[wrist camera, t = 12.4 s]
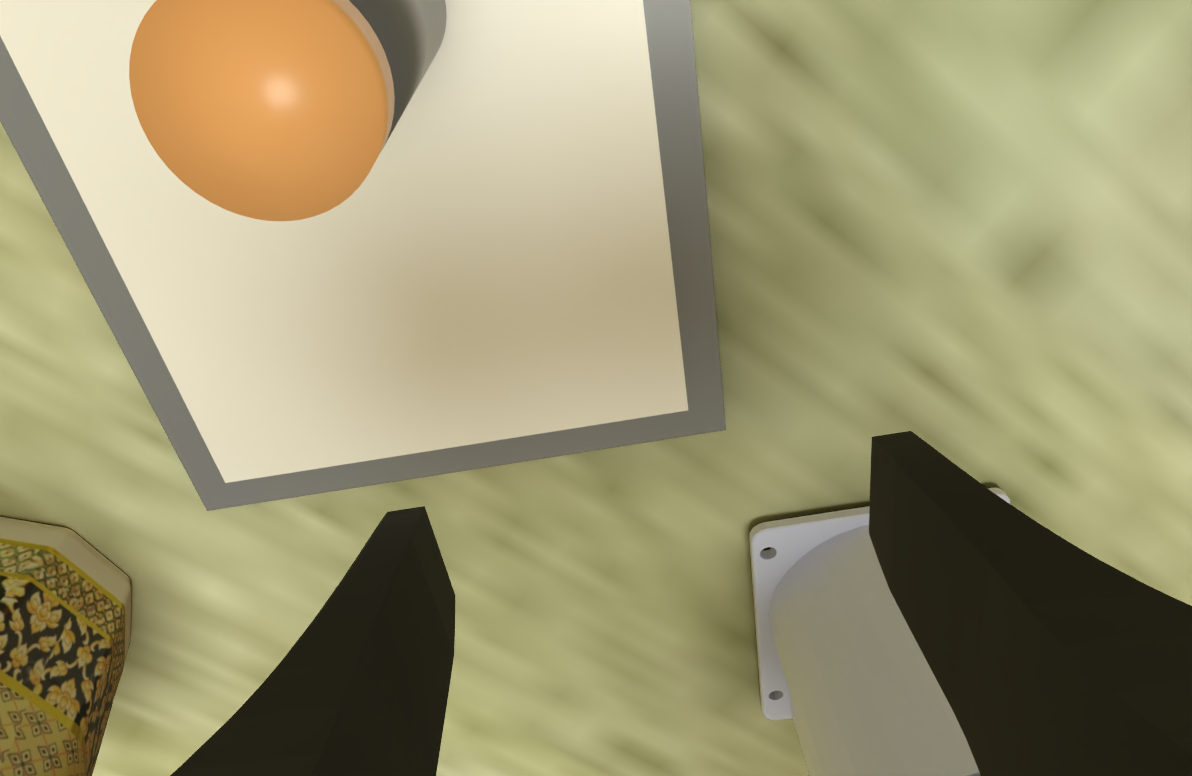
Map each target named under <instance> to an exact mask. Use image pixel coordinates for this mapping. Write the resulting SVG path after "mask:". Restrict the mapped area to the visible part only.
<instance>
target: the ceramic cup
mask: <svg viewBox="0 0 1192 776" xmlns="http://www.w3.org/2000/svg"><path fill="white" fill-rule="evenodd" d="M130 629H131V587H130V579H129V577H128V576H127V575H126V574H125V573H124V572H122V571H121V570H120V569H119V568H117V567H116V566H115V565H114V564H113V563H111V562H110V561H109V560H108V559H107V558H105V557H104V556H103V555H102V554H101V553H99V552H98V551H97V550H96V549H94V548H93V547H92V546H91V545H90V544H88V543H87V542H86V541H85V540H84V539H82V538H81V537H80V536H79V535H78V534H76V533H75V532H74V531H72V530H70V529H68V528H64V527H59V526H53V525H47V524H41V523H35V522H29V521H23V520H17V519H11V518H5V517H0V776H92V773H93V770H94V767H95V764H96V760H97V756H98V753H99V749H100V746H101V742H102V739H103V735H104V732H105V728H106V725H107V721H108V718H109V714H110V711H111V707H112V703H113V699H114V696H115V693H116V690H117V687H118V683H119V680H120V677H121V674H122V671H123V667H124V662H125V659H126V655H127V652H128V648H129V645H130Z"/></svg>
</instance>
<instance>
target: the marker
mask: <svg viewBox="0 0 1192 776" xmlns="http://www.w3.org/2000/svg"><path fill="white" fill-rule="evenodd" d="M446 17H447V16H446V3H445V0H156V1H155V2H154V3H153V5H152V6H151V7H150V9H149V10H148V11H147V13H146V14H145V15H144V17H143V19H142V21H141V23H140V25H139V27H138V29H137V31H136V34H135V37H134V40H133V43H132V49H131V54H130V61H129V80H130V89H131V96H132V100H133V104H134V108H135V111H136V114H137V117H138V119H139V122H140V125H141V127H142V129H143V131H144V133H145V135H146V137H147V139H148V141H149V142H150V144H151V145H152V147H153V148H154V150H155V151H156V153H157V155H158V156H159V157H160V158H161V160H162V161H163V162H164V163H165V165H166V166H167V167H168V168H169V169H170V170H171V171H172V172H173V173H174V174H175V175H176V176H177V177H178V178H179V179H180V180H181V181H182V182H183V183H184V184H185V185H187V186H188V187H189V188H190V189H192V190H193V191H194V192H195V193H197V194H199V195H200V196H202V197H203V198H205V199H206V200H208V201H209V202H211V203H213V204H215V205H217V206H219V207H221V208H223V209H225V210H228V211H231V212H233V213H236V214H238V215H242V216H246V217H250V218H253V219H259V220H266V221H294V220H302V219H306V218H310V217H314V216H317V215H319V214H322V213H325V212H327V211H329V210H331V209H333V208H334V207H336V206H338V205H340V204H341V203H342V202H344V201H345V200H346V199H347V198H349V197H350V196H351V195H352V194H353V193H354V192H355V191H356V190H357V189H358V188H359V187H360V185H361V184H362V183H363V181H364V180H365V178H366V177H367V176H368V174H369V172H370V171H371V169H372V167H373V165H374V163H375V162H376V160H377V158H378V156H379V155H380V153H381V151H382V149H383V148H384V146H385V144H386V142H387V140H388V139H389V137H390V135H391V133H392V132H393V130H394V128H395V126H396V125H397V123H398V121H399V119H400V118H401V116H402V114H403V112H404V110H405V109H406V107H407V105H408V103H409V102H410V100H411V98H412V96H413V95H414V93H415V91H416V89H417V88H418V86H419V84H420V82H421V80H422V79H423V77H424V75H425V73H426V72H427V70H428V68H429V66H430V65H431V63H432V61H433V59H434V57H435V56H436V54H437V52H438V50H439V48H440V46H441V43H442V40H443V37H444V33H445V28H446Z"/></svg>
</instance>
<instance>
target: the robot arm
mask: <svg viewBox="0 0 1192 776" xmlns="http://www.w3.org/2000/svg"><path fill="white" fill-rule="evenodd" d="M749 541H750V555H751V569H752V583H753V597H754V612H755V626H756V640H757V654H758V669H759V683H760V697H761V708H762V712H763V715H764V717H765V718H767V719H769V720H784V719H791V718H793V721H794V724H795V728H796V731H797V734H798V738H799V741H800V745H801V748H802V752H803V755H804V758H805V762H806V765H807V769H808V772H809V776H1192V606H1190V605H1188V604H1186V603H1184V602H1181V601H1179V600H1177V599H1175V598H1173V597H1170V596H1168V595H1166V594H1164V593H1162V592H1160V591H1158V590H1156V589H1154V588H1152V587H1150V586H1148V585H1146V584H1144V583H1142V582H1140V581H1138V580H1136V579H1134V578H1132V577H1130V576H1128V575H1127V574H1125V573H1123V572H1121V571H1119V570H1117V569H1115V568H1113V567H1112V566H1110V565H1108V564H1106V563H1104V562H1102V561H1100V560H1098V559H1097V558H1095V557H1093V556H1091V555H1090V554H1088V553H1086V552H1084V551H1083V550H1081V549H1079V548H1078V547H1076V546H1074V545H1073V544H1071V543H1069V542H1068V541H1066V540H1064V539H1063V538H1061V537H1060V536H1058V535H1056V534H1055V533H1053V532H1052V531H1050V530H1048V529H1047V528H1045V527H1044V526H1042V525H1040V524H1039V523H1037V522H1036V521H1034V520H1033V519H1031V518H1030V517H1028V516H1027V515H1025V514H1024V513H1022V512H1021V511H1019V510H1018V509H1016V508H1015V507H1013V506H1012V505H1010V499H1009V498H1008V496H1007V495H1006V494H1005V492H1004V491H1003V490H1002V489H999V488H986V487H985V486H983V485H982V484H981V483H979V482H978V481H977V480H975V479H974V478H973V477H971V476H970V475H969V474H967V473H966V472H964V471H963V470H962V469H960V468H959V467H958V466H956V465H955V464H954V463H952V462H951V461H950V460H949V459H947V458H946V457H945V456H943V455H942V454H941V453H939V452H938V451H937V450H935V449H934V448H933V447H931V446H930V445H929V444H927V443H926V442H925V441H923V440H922V439H921V438H919V437H918V436H917V435H915V434H914V433H913V432H911V431H908V432H901V433H895V434H888V435H882V436H875V437H872V450H871V480H870V506H867V507H861V508H854V509H848V510H841V511H835V512H828V513H821V514H815V515H808V516H802V517H795V518H789V519H782V520H775V521H769V522H763V523H760V524H758V525H756V526H755V527H753V529H752V530H751V531H750V535H749ZM767 547H772V548H771V549H769V550H767V551H762V550H763V549H764V548H767ZM454 637H455V594H454V591H453V588H452V585H451V582H450V579H449V576H448V573H447V570H446V567H445V565H444V562H443V559H442V556H441V553H440V550H439V547H438V544H437V541H436V538H435V535H434V533H433V530H432V527H431V524H430V521H429V518H428V515H427V512H426V509H425V506H424V507H417V508H411V509H404V510H398V511H391V512H387V514H386V515H385V516H384V517H383V519H382V520H381V522H380V523H379V525H378V526H377V528H376V529H375V531H374V532H373V534H372V535H371V537H370V538H369V540H368V541H367V543H366V544H365V546H364V547H363V549H362V551H361V552H360V554H359V555H358V557H357V558H356V560H355V561H354V563H353V564H352V566H351V567H350V569H349V570H348V572H347V573H346V575H345V576H344V578H343V579H342V580H341V582H340V583H339V585H338V586H337V588H336V589H335V590H334V592H333V593H332V595H331V596H330V598H329V599H328V600H327V602H326V603H325V605H324V606H323V608H322V609H321V610H320V612H319V613H318V615H317V616H316V617H315V619H314V620H313V621H312V623H311V624H310V625H309V627H308V628H307V629H306V630H305V632H304V633H303V634H302V636H301V637H300V638H299V639H298V641H297V642H296V643H295V645H294V646H293V647H292V648H291V650H290V651H289V652H288V654H287V655H286V656H285V658H284V659H283V660H282V661H281V662H280V664H279V665H278V666H277V667H276V668H275V670H274V671H273V672H272V673H271V674H270V676H269V677H268V678H267V679H266V680H265V681H264V683H263V684H262V685H261V686H260V687H259V688H258V689H257V690H256V691H255V692H254V694H253V695H252V696H251V697H250V698H249V699H248V700H247V701H246V702H245V703H244V704H243V706H242V707H241V708H240V709H239V710H238V711H237V712H236V713H235V714H234V715H233V716H232V717H231V718H230V719H229V720H228V721H227V722H226V723H225V724H224V725H223V726H222V727H221V728H220V729H219V730H218V731H217V732H216V733H215V734H214V735H213V736H212V737H211V738H210V739H209V740H207V741H206V742H205V743H204V744H203V745H202V746H201V747H200V748H199V749H198V750H197V751H196V752H195V753H194V754H193V755H192V756H191V757H190V758H189V759H188V760H187V761H186V762H185V763H184V764H183V765H182V766H180V767H179V768H178V769H177V770H176V771H175V772H174V773H173V774H172V775H170V776H436V771H437V764H438V758H439V751H440V745H441V738H442V732H443V725H444V719H445V712H446V706H447V699H448V692H449V685H450V678H451V672H452V665H453V657H454Z"/></svg>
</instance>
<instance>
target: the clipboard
mask: <svg viewBox="0 0 1192 776" xmlns="http://www.w3.org/2000/svg"><path fill="white" fill-rule="evenodd" d="M155 1H156V0H0V121H1V123H2V125H3V127H4V129H5V131H6V133H7V135H8V136H9V138H10V140H11V142H12V144H13V146H14V148H15V150H16V152H17V153H18V155H19V157H20V159H21V161H22V163H23V165H24V167H25V168H26V170H27V172H28V174H29V176H30V178H31V180H32V182H33V184H34V185H35V187H36V189H37V191H38V193H39V195H40V197H41V199H42V201H43V202H44V204H45V206H46V208H47V210H48V212H49V214H50V216H51V217H52V219H53V221H54V223H55V225H56V227H57V229H58V231H59V233H60V234H61V236H62V238H63V240H64V242H65V244H66V246H67V248H68V250H69V251H70V253H71V255H72V257H73V259H74V261H75V263H76V265H77V266H78V268H79V270H80V272H81V274H82V276H83V278H84V280H85V282H86V283H87V285H88V287H89V289H90V291H91V293H92V295H93V297H94V298H95V300H96V302H97V304H98V306H99V308H100V310H101V312H102V314H103V315H104V317H105V319H106V321H107V323H108V325H109V327H110V329H111V331H112V332H113V334H114V336H115V338H116V340H117V342H118V344H119V346H120V347H121V349H122V351H123V353H124V355H125V357H126V359H127V361H128V363H129V364H130V366H131V368H132V370H133V372H134V374H135V376H136V378H137V380H138V381H139V383H140V385H141V387H142V389H143V391H144V393H145V395H146V396H147V398H148V400H149V402H150V404H151V406H152V408H153V410H154V412H155V413H156V415H157V417H158V419H159V421H160V423H161V425H162V427H163V429H164V430H165V432H166V434H167V436H168V438H169V440H170V442H171V444H172V445H173V447H174V449H175V451H176V453H177V455H178V457H179V459H180V461H181V462H182V464H183V466H184V468H185V470H186V472H187V474H188V476H189V478H190V479H191V481H192V483H193V485H194V487H195V489H196V491H197V493H198V494H199V496H200V498H201V500H202V502H203V504H204V506H205V508H206V510H207V511H210V510H216V509H222V508H229V507H235V506H242V505H248V504H254V503H261V502H267V501H274V500H280V499H286V498H293V497H299V496H306V495H312V494H318V493H325V492H331V491H338V490H344V489H351V488H357V487H363V486H370V485H376V484H383V483H389V482H395V481H402V480H408V479H415V478H421V477H427V476H434V475H440V474H447V473H453V472H459V471H466V470H472V469H479V468H485V467H491V466H498V465H504V464H511V463H517V462H523V461H530V460H536V459H543V458H549V457H556V456H562V455H568V454H575V453H581V452H588V451H594V450H600V449H607V448H613V447H620V446H626V445H632V444H639V443H645V442H652V441H658V440H664V439H671V438H677V437H684V436H690V435H696V434H703V433H709V432H716V431H722V430H726V425H725V413H724V401H723V389H722V377H721V365H720V353H719V341H718V329H717V317H716V305H715V293H714V281H713V269H712V257H711V245H710V233H709V220H708V208H707V196H706V184H705V172H704V160H703V148H702V136H701V124H700V112H699V100H698V88H697V76H696V64H695V52H694V40H693V28H692V16H691V4H690V0H445V3H446V16H447V17H446V28H445V33H444V37H443V40H442V43H441V46H440V48H439V50H438V52H437V54H436V56H435V57H434V59H433V61H432V63H431V65H430V66H429V68H428V70H427V72H426V73H425V75H424V77H423V79H422V80H421V82H420V84H419V86H418V88H417V89H416V91H415V93H414V95H413V96H412V98H411V100H410V102H409V103H408V105H407V107H406V109H405V110H404V112H403V114H402V116H401V118H400V119H399V121H398V123H397V125H396V126H395V128H394V130H393V132H392V133H391V135H390V137H389V139H388V140H387V142H386V144H385V146H384V148H383V149H382V151H381V153H380V155H379V156H378V158H377V160H376V162H375V163H374V165H373V167H372V169H371V171H370V172H369V174H368V176H367V177H366V178H365V180H364V181H363V183H362V184H361V185H360V187H359V188H358V189H357V190H356V191H355V192H354V193H353V194H352V195H351V196H350V197H349V198H347V199H346V200H345V201H344V202H342V203H341V204H340V205H338V206H336V207H334V208H333V209H331V210H329V211H327V212H325V213H322V214H319V215H317V216H314V217H310V218H306V219H302V220H294V221H266V220H259V219H253V218H250V217H246V216H242V215H238V214H236V213H233V212H231V211H228V210H225V209H223V208H221V207H219V206H217V205H215V204H213V203H211V202H209V201H208V200H206V199H205V198H203V197H202V196H200V195H199V194H197V193H195V192H194V191H193V190H192V189H190V188H189V187H188V186H187V185H185V184H184V183H183V182H182V181H181V180H180V179H179V178H178V177H177V176H176V175H175V174H174V173H173V172H172V171H171V170H170V169H169V168H168V167H167V166H166V165H165V163H164V162H163V161H162V160H161V158H160V157H159V156H158V155H157V153H156V151H155V150H154V148H153V147H152V145H151V144H150V142H149V141H148V139H147V137H146V135H145V133H144V131H143V129H142V127H141V125H140V122H139V119H138V117H137V114H136V111H135V108H134V104H133V100H132V96H131V89H130V80H129V61H130V54H131V49H132V43H133V40H134V37H135V34H136V31H137V29H138V27H139V25H140V23H141V21H142V19H143V17H144V15H145V14H146V13H147V11H148V10H149V9H150V7H151V6H152V5H153V3H154V2H155Z"/></svg>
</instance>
